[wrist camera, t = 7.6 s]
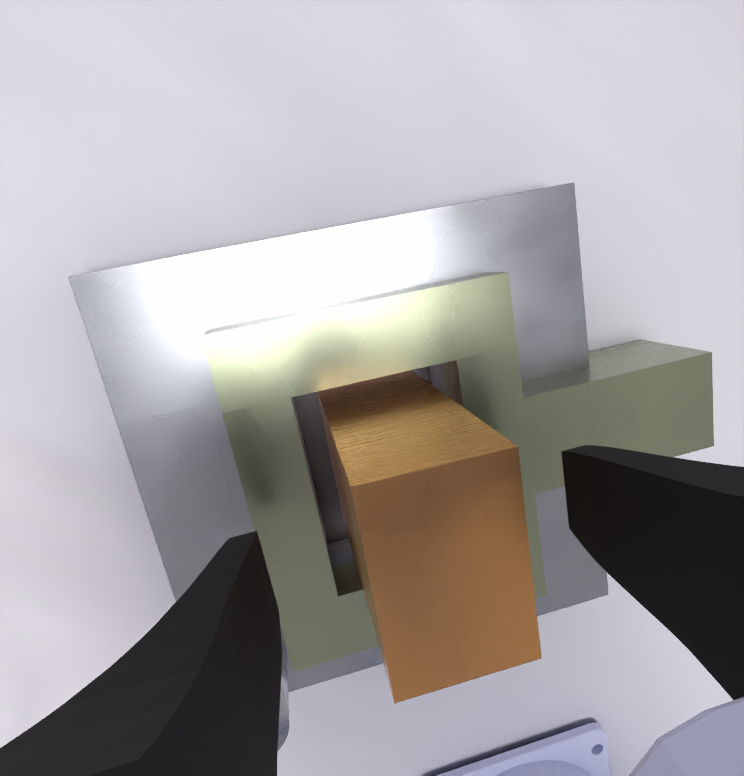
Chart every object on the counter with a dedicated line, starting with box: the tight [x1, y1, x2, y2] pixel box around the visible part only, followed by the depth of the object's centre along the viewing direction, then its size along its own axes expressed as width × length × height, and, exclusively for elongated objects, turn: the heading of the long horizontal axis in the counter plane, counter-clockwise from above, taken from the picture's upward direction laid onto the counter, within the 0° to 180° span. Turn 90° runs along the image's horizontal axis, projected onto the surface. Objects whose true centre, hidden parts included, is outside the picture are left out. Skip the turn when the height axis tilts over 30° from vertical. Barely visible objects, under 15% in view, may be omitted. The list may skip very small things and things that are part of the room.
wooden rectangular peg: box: [317, 370, 541, 703], centre depth 13 cm, size 4×3×8 cm, turn 10°
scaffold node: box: [68, 183, 714, 751], centre depth 15 cm, size 14×17×4 cm
